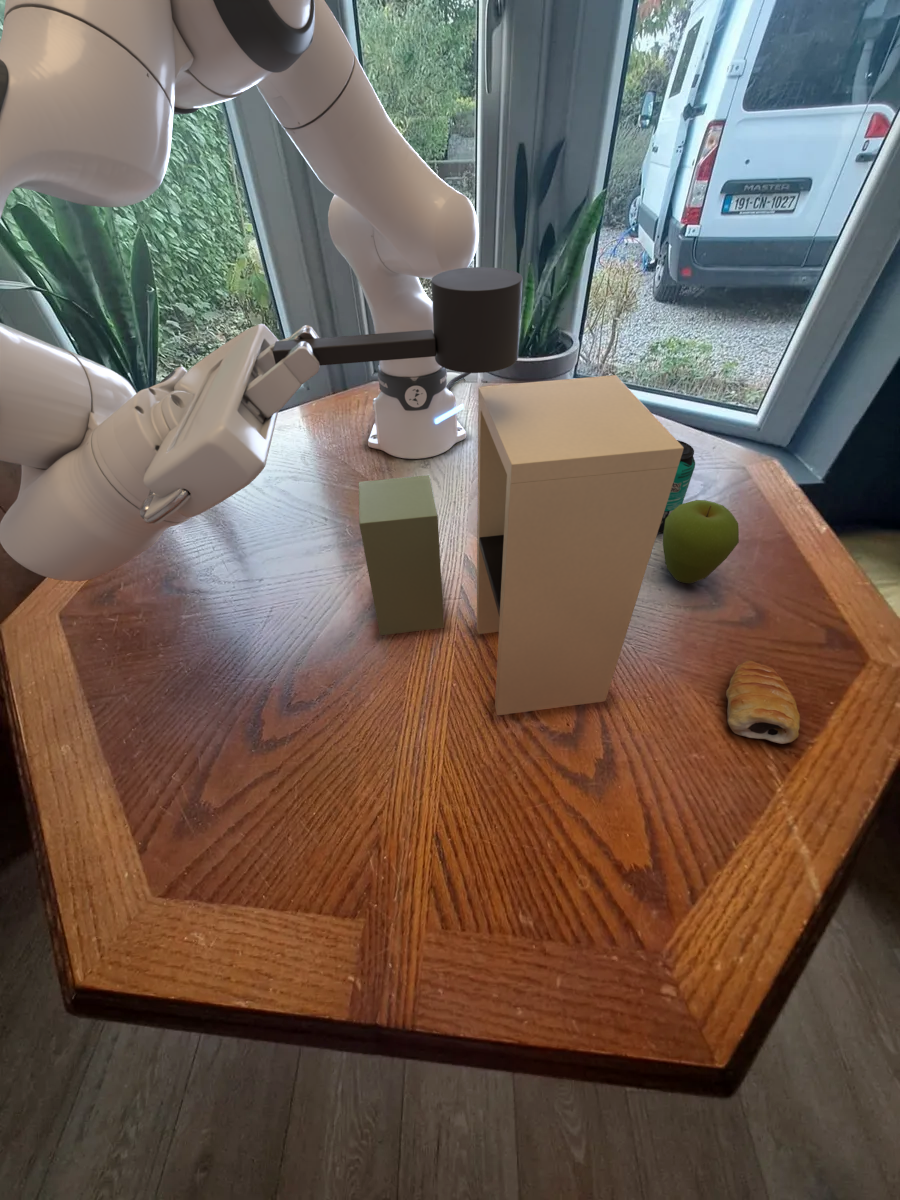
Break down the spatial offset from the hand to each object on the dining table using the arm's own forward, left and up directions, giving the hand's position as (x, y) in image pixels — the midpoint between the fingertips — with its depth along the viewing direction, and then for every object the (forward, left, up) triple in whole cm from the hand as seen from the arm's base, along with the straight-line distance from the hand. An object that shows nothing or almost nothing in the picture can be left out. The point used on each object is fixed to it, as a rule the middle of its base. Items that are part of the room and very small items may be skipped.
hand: (315, 344), depth 36 cm
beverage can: (-22, +42, -36) cm, 60 cm away
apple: (-9, +41, -36) cm, 55 cm away
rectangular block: (-9, +4, -36) cm, 37 cm away
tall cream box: (+2, +18, -36) cm, 40 cm away
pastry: (+12, +39, -36) cm, 54 cm away
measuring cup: (0, +6, -2) cm, 6 cm away
